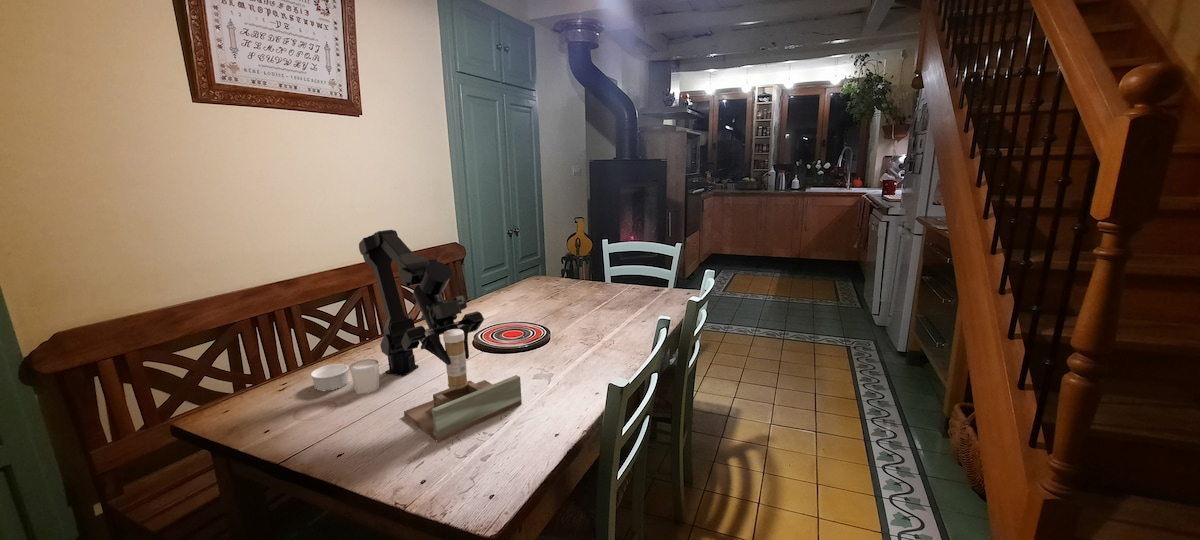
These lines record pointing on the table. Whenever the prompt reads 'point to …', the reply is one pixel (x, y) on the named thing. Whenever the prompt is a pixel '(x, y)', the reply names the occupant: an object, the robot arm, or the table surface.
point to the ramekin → (330, 377)
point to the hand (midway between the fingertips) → (458, 361)
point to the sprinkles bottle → (455, 358)
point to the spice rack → (465, 407)
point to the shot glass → (365, 375)
